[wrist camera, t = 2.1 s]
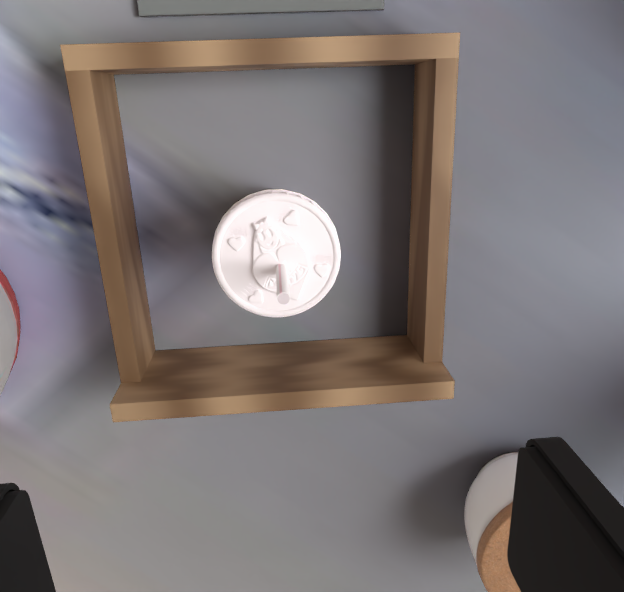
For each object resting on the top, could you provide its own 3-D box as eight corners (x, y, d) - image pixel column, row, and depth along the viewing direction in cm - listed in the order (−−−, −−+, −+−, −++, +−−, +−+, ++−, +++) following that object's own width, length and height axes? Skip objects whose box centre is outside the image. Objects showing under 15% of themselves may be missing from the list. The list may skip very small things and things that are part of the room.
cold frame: (434, 42, 32) (477, 25, 25) (422, 348, 39) (453, 398, 32) (89, 52, 31) (39, 39, 24) (140, 366, 38) (112, 422, 31)
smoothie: (252, 279, 36) (241, 379, 23) (209, 192, 34) (169, 248, 21) (338, 242, 36) (377, 322, 23) (300, 151, 34) (319, 182, 20)
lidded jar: (598, 475, 44) (680, 568, 35) (502, 553, 46) (555, 659, 38) (519, 403, 41) (586, 484, 32) (419, 489, 43) (457, 588, 34)
